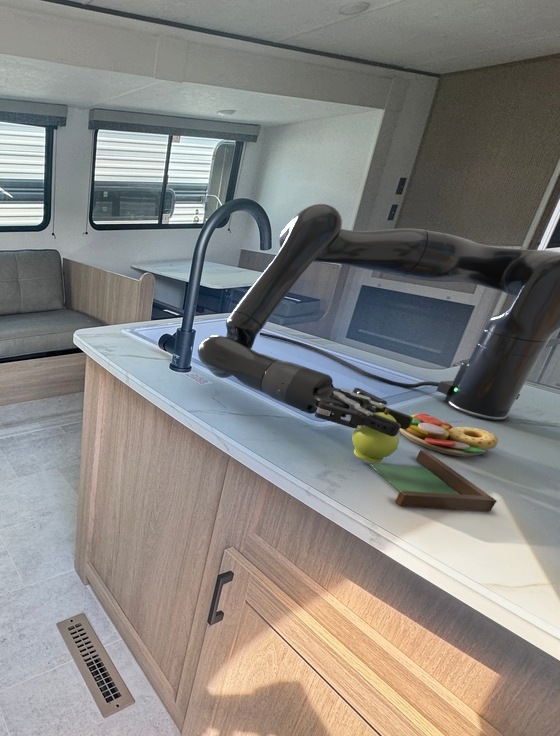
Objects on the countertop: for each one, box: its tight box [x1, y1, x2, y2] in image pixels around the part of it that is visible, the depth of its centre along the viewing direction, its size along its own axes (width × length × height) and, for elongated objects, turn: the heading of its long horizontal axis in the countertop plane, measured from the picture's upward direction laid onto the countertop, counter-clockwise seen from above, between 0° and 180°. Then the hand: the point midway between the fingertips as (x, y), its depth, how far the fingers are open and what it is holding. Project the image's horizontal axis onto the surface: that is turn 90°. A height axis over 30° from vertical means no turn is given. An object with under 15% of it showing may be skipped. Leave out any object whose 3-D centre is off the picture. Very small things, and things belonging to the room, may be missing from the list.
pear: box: [351, 409, 399, 464], centre depth 69 cm, size 6×6×9 cm
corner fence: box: [369, 449, 498, 512], centre depth 67 cm, size 13×13×2 cm
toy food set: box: [399, 413, 499, 457], centre depth 79 cm, size 13×13×3 cm
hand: (403, 427), depth 66 cm, fingers closed on pear, 4 cm apart
